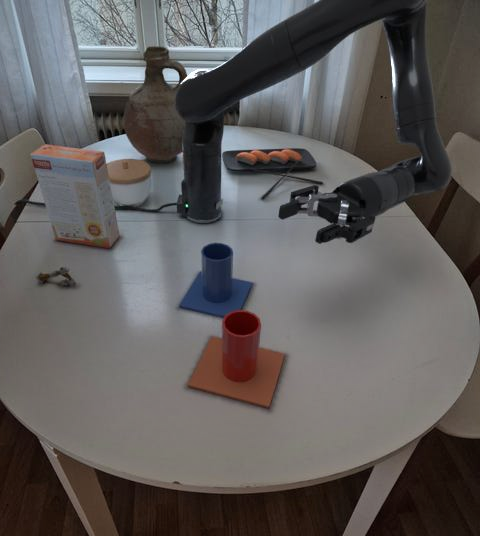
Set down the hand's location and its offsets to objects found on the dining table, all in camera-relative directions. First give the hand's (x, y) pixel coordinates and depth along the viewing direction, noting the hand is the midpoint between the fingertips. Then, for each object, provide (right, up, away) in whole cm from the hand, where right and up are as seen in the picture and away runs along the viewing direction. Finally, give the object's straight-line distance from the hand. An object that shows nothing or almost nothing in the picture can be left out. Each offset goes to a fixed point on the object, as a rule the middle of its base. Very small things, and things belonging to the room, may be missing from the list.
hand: (298, 225), depth 67 cm
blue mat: (-14, -10, +22) cm, 28 cm away
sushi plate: (+1, +30, +65) cm, 71 cm away
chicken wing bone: (-48, -7, +23) cm, 53 cm away
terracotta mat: (-9, -24, +8) cm, 27 cm away
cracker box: (-46, +5, +36) cm, 58 cm away
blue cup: (-14, -10, +22) cm, 28 cm away
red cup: (-9, -23, +7) cm, 26 cm away
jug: (-34, +38, +72) cm, 88 cm away
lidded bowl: (-39, +17, +50) cm, 65 cm away
